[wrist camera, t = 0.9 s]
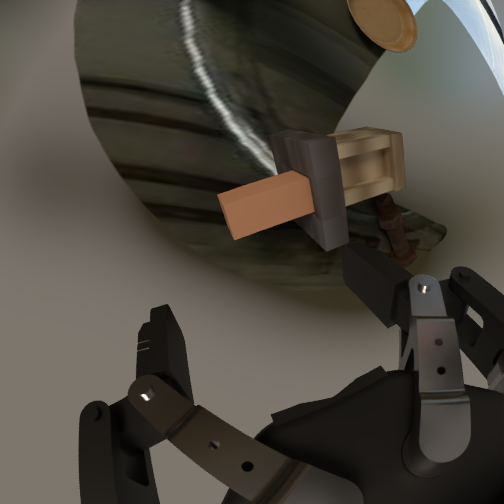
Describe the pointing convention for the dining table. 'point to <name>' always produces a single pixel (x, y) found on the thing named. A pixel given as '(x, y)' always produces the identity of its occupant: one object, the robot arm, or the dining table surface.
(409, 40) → the plant saucer
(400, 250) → the bolt
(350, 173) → the frame
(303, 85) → the dining table surface
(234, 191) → the peg
